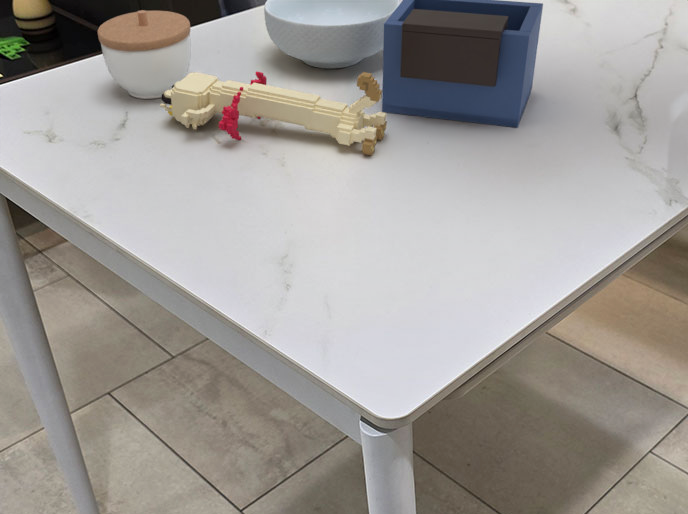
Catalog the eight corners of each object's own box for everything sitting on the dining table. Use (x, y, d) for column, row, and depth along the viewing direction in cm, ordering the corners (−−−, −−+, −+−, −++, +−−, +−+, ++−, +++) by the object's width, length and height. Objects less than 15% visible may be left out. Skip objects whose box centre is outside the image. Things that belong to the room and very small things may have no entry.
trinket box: (91, 91, 104) (76, 14, 98) (160, 64, 110) (149, -10, 104) (145, 115, 98) (132, 35, 92) (215, 85, 103) (207, 8, 98)
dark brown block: (502, 70, 91) (508, 16, 87) (494, 87, 87) (500, 31, 84) (410, 61, 94) (413, 8, 90) (400, 77, 90) (402, 23, 87)
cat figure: (389, 135, 93) (185, 92, 100) (398, 59, 88) (181, 19, 95) (362, 178, 86) (143, 129, 93) (370, 98, 81) (137, 52, 87)
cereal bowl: (425, 52, 109) (428, -4, 104) (339, 95, 100) (338, 36, 95) (327, 24, 118) (326, -28, 114) (240, 61, 109) (235, 5, 105)
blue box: (531, 90, 98) (543, 3, 92) (517, 127, 91) (529, 35, 85) (404, 77, 103) (407, -7, 97) (381, 111, 95) (383, 23, 89)
